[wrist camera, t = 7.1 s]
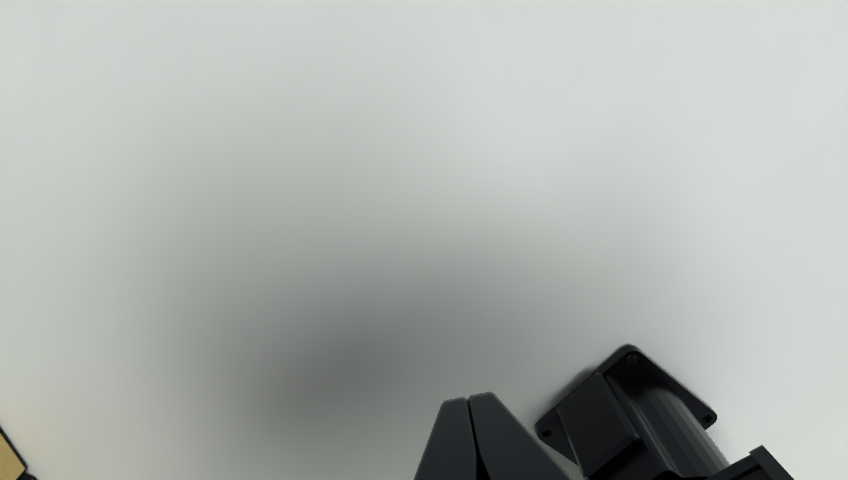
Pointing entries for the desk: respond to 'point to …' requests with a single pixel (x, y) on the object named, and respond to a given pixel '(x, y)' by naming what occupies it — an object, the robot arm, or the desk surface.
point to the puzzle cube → (10, 463)
